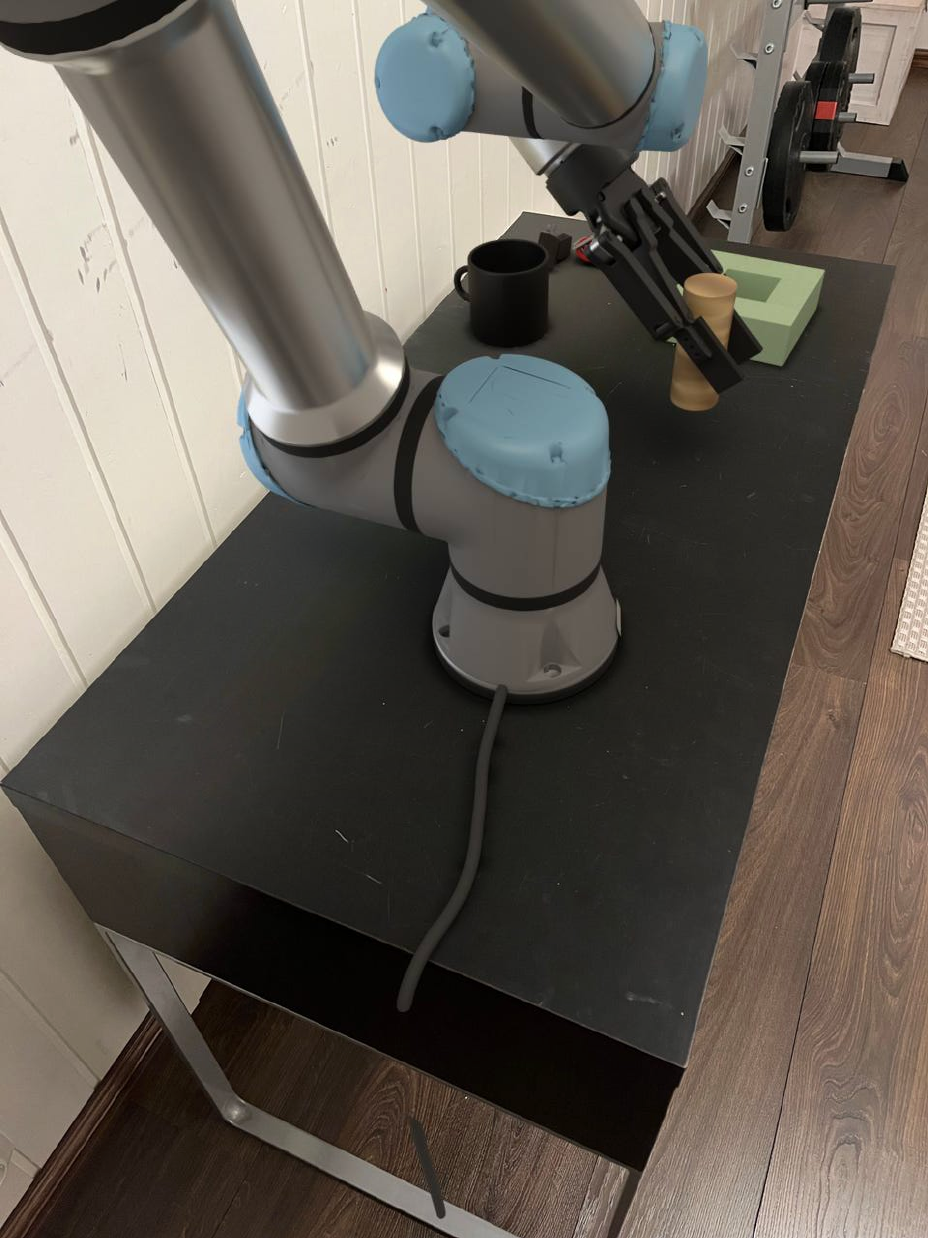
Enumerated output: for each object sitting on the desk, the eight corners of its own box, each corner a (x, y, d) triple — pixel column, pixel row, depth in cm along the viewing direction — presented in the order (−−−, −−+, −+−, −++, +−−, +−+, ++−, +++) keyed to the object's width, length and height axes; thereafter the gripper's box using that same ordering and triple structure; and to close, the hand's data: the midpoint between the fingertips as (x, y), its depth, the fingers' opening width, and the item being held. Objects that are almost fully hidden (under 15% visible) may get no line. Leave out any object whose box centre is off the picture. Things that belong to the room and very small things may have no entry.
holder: (782, 366, 105) (790, 325, 102) (660, 339, 111) (664, 299, 107) (816, 309, 114) (825, 269, 110) (701, 287, 119) (706, 248, 116)
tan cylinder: (709, 415, 85) (727, 300, 77) (662, 404, 86) (676, 290, 79) (724, 391, 87) (744, 278, 80) (679, 381, 89) (694, 268, 81)
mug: (473, 300, 120) (470, 229, 113) (560, 317, 116) (562, 245, 109) (438, 334, 114) (432, 262, 108) (528, 354, 110) (528, 280, 103)
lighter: (551, 272, 129) (561, 232, 127) (564, 275, 128) (575, 235, 126) (527, 261, 122) (538, 219, 120) (541, 264, 121) (552, 222, 120)
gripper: (561, 154, 69) (744, 401, 75) (649, 84, 80) (804, 305, 85) (499, 215, 75) (673, 440, 80) (588, 143, 85) (737, 346, 91)
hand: (740, 370), depth 83 cm, fingers closed on tan cylinder, 4 cm apart
